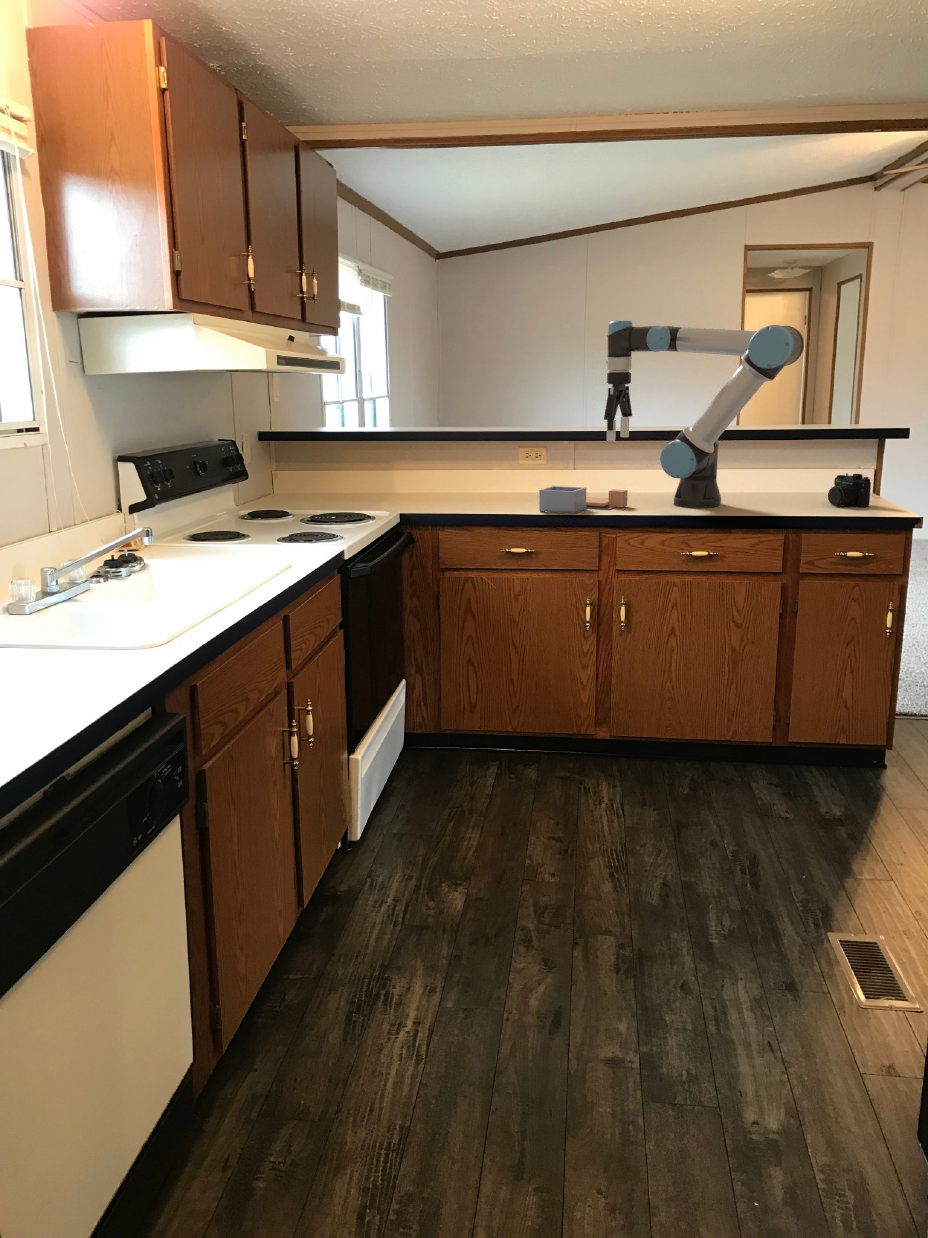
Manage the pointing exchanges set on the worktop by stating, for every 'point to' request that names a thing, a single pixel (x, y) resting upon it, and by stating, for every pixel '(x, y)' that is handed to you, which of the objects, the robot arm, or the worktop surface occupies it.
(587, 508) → the mat
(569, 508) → the tub
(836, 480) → the camera
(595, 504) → the lid
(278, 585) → the worktop surface
